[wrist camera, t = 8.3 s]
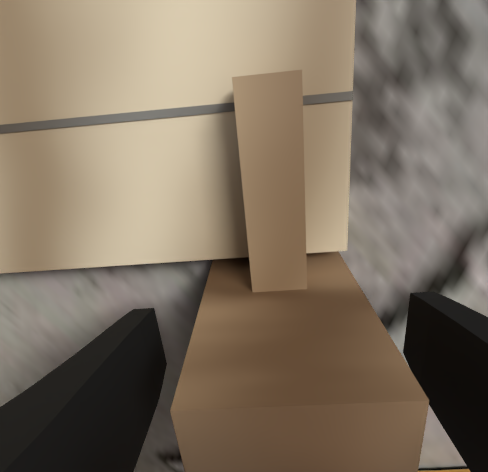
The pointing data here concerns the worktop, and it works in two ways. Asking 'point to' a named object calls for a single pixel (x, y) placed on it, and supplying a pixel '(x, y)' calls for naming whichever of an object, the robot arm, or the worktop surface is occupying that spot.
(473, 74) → the worktop surface
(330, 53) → the board
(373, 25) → the worktop surface
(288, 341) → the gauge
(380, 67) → the worktop surface
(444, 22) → the worktop surface
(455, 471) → the small box
